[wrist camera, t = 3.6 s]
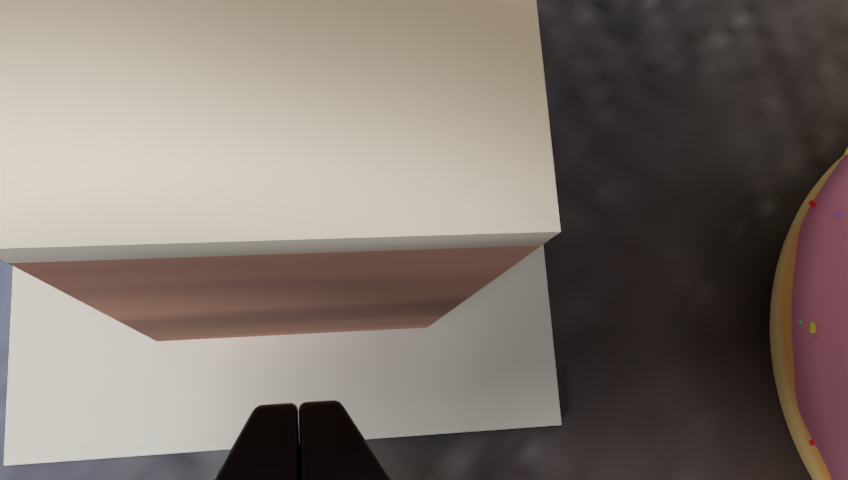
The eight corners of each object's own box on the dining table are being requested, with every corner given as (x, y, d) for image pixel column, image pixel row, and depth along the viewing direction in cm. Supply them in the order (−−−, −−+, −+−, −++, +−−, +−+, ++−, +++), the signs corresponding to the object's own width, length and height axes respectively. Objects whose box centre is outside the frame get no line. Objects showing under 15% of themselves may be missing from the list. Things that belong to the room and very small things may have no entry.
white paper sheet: (556, 424, 15) (561, 424, 15) (10, 464, 14) (3, 465, 13) (495, -187, 18) (498, -197, 18) (41, -215, 17) (37, -226, 16)
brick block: (426, 327, 15) (561, 232, 7) (156, 341, 14) (-18, 249, 6) (410, 86, 16) (512, -223, 8) (158, 85, 15) (11, -258, 7)
